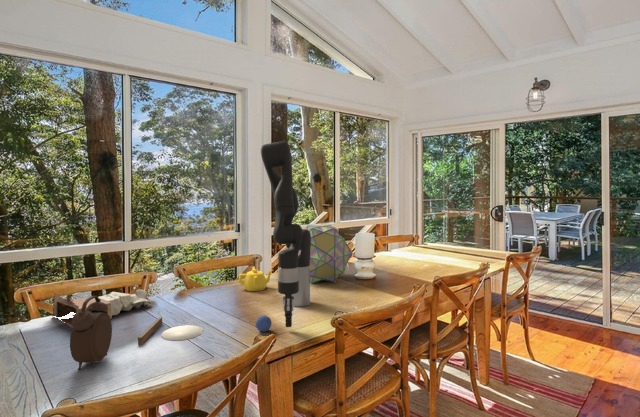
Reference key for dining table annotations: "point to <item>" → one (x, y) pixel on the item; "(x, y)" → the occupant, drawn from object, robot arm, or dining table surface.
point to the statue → (112, 301)
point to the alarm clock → (91, 333)
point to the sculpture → (327, 253)
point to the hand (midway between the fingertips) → (288, 326)
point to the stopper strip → (149, 331)
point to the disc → (182, 332)
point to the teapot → (254, 280)
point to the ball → (263, 323)
